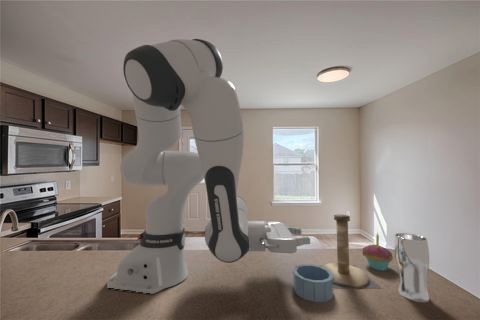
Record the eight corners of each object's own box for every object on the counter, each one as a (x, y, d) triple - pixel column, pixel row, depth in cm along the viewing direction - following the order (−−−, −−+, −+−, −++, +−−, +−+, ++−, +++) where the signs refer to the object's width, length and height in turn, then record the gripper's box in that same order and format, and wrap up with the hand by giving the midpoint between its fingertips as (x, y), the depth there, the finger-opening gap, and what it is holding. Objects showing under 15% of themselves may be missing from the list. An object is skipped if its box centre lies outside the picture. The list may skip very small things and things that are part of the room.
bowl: (299, 303, 51) (299, 282, 52) (290, 281, 61) (290, 264, 62) (340, 303, 51) (339, 282, 52) (324, 281, 61) (324, 264, 61)
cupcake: (397, 275, 64) (395, 235, 65) (366, 271, 67) (364, 233, 68) (388, 263, 73) (386, 228, 73) (360, 260, 75) (358, 226, 76)
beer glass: (439, 306, 50) (435, 241, 51) (405, 302, 51) (402, 240, 52) (420, 290, 57) (417, 233, 57) (391, 287, 58) (388, 232, 59)
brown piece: (331, 287, 58) (329, 220, 59) (315, 266, 71) (313, 211, 72) (379, 287, 58) (376, 220, 59) (354, 266, 70) (352, 211, 71)
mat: (330, 289, 57) (330, 288, 57) (313, 266, 71) (313, 265, 71) (382, 289, 57) (382, 288, 57) (354, 266, 71) (354, 265, 71)
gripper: (261, 234, 54) (315, 234, 54) (257, 218, 74) (296, 218, 74) (261, 260, 53) (316, 259, 53) (257, 236, 74) (297, 236, 73)
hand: (304, 235), depth 64 cm, fingers open, 8 cm apart
